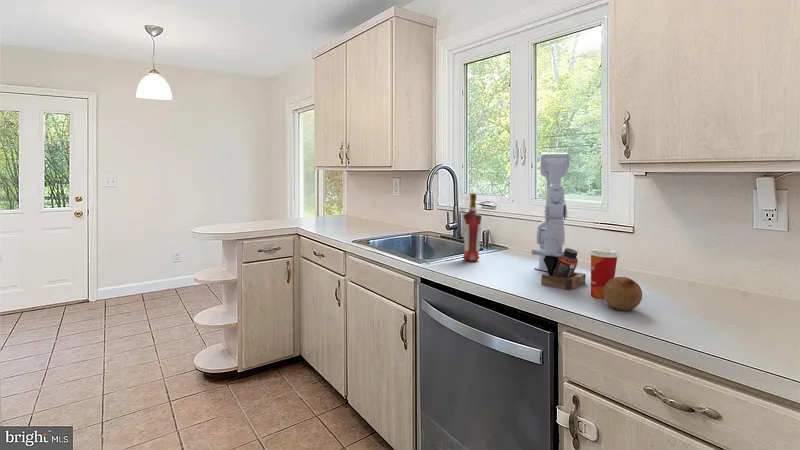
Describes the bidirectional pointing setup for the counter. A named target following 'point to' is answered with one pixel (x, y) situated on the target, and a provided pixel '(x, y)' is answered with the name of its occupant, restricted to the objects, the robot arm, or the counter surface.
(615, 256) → the paper cup
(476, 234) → the liquor
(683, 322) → the counter surface
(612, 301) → the onion
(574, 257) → the supplement bottle
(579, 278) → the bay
